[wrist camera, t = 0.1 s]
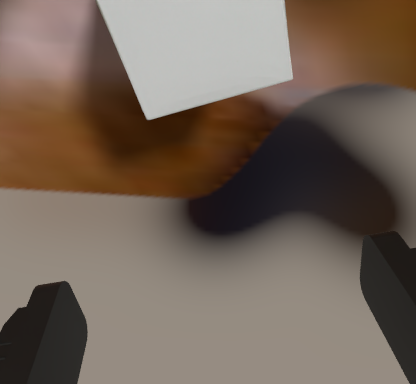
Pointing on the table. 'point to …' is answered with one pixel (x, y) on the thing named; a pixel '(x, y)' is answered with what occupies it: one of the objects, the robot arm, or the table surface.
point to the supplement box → (198, 49)
